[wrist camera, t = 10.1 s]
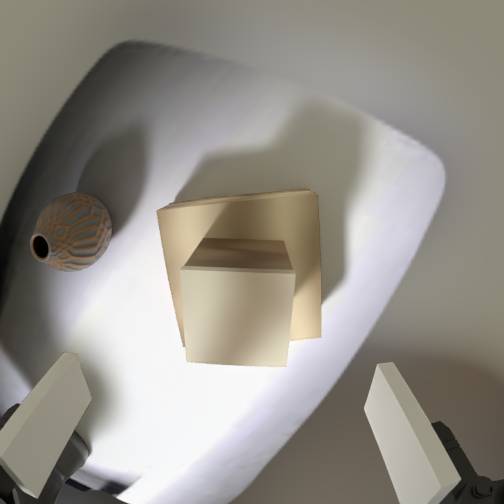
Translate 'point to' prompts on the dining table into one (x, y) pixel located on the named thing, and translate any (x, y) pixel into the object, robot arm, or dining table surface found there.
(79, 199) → the vase
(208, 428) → the dining table surface
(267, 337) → the pale wooden block
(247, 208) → the beech base
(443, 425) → the robot arm
